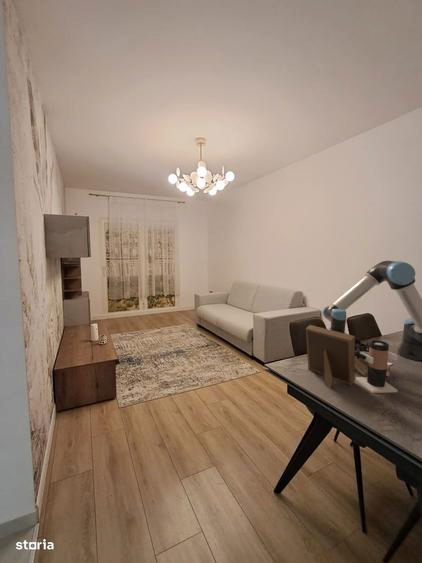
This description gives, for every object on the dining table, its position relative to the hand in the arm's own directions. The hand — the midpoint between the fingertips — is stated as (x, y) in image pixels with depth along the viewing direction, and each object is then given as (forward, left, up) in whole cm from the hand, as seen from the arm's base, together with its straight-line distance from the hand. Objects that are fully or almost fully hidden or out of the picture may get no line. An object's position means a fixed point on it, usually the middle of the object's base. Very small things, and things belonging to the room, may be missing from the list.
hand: (384, 359), depth 117 cm
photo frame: (+22, -10, -15) cm, 28 cm away
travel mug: (+1, -3, -14) cm, 14 cm away
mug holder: (-6, -18, -14) cm, 24 cm away
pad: (+1, -3, -14) cm, 15 cm away
